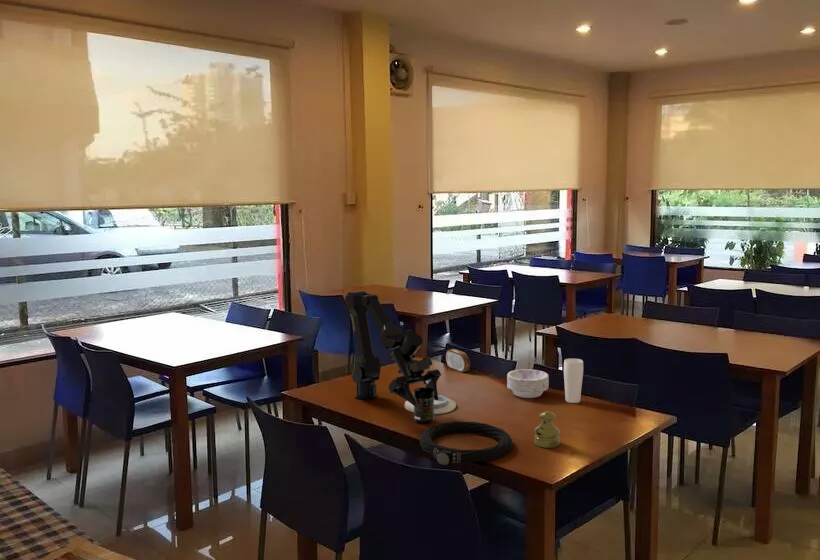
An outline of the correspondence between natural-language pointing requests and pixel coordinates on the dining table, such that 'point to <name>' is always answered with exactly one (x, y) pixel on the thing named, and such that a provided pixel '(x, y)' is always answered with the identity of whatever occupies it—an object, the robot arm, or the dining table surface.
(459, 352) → the tin
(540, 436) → the gold tapered knobbed piece
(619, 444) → the dining table surface
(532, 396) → the paper bowls
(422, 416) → the supplement container
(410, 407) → the round tray
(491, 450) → the cable lock
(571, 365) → the drinking glass
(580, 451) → the dining table surface
